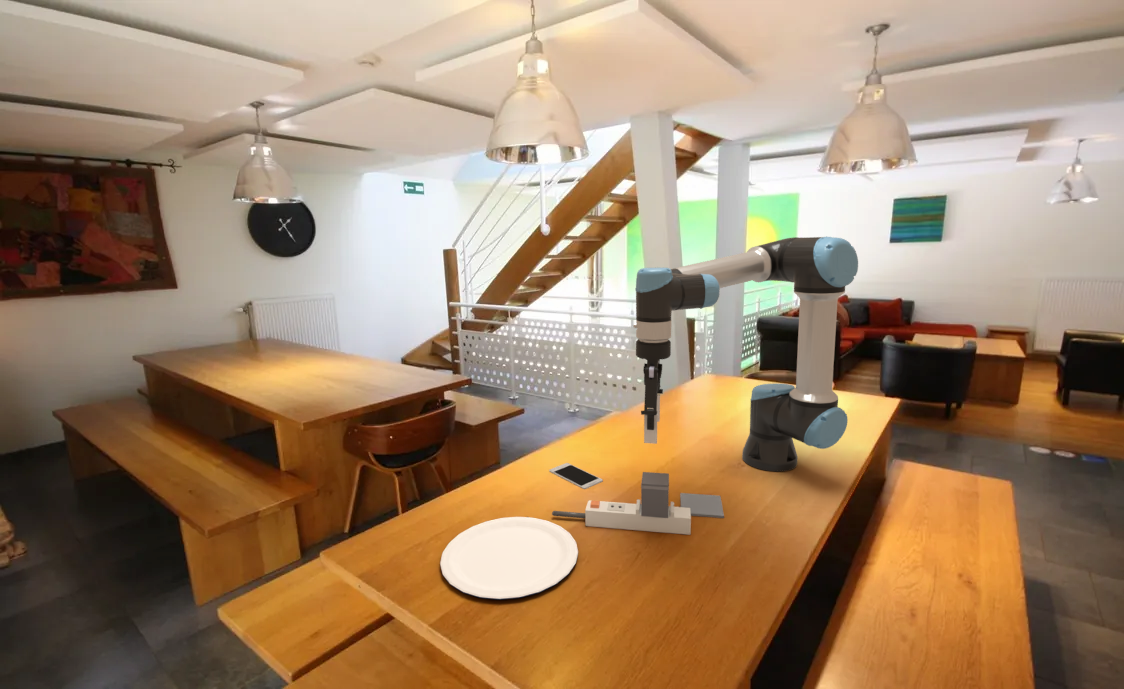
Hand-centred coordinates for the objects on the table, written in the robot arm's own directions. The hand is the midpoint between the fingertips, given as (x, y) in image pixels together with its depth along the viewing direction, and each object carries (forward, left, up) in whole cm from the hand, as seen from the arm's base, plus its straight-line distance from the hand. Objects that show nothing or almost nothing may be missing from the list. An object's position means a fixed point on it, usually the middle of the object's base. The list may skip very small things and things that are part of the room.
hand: (652, 431), depth 119 cm
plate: (+29, +18, -24) cm, 42 cm away
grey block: (-1, +1, -19) cm, 19 cm away
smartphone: (+22, -22, -24) cm, 39 cm away
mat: (-12, -10, -23) cm, 28 cm away
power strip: (+7, +1, -23) cm, 24 cm away
